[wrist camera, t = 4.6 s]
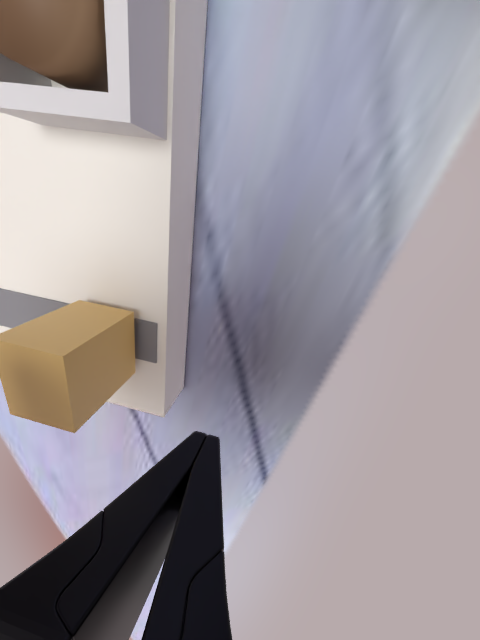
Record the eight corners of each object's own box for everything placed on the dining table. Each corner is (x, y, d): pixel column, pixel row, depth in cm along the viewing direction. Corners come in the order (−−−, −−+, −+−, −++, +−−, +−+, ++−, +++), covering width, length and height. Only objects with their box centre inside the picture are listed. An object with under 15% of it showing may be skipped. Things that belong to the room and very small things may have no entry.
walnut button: (139, -32, 9) (65, -138, 6) (140, 105, 10) (82, 68, 8) (41, -36, 9) (-67, -136, 7) (56, 96, 11) (-27, 59, 8)
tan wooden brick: (133, 311, 13) (62, 356, 9) (135, 372, 15) (74, 433, 11) (79, 300, 14) (-11, 338, 10) (86, 360, 15) (10, 413, 11)
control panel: (213, -87, 10) (128, -367, 5) (183, 387, 19) (142, 451, 14) (-126, -88, 12) (-414, -286, 7) (-10, 338, 21) (-105, 379, 16)
